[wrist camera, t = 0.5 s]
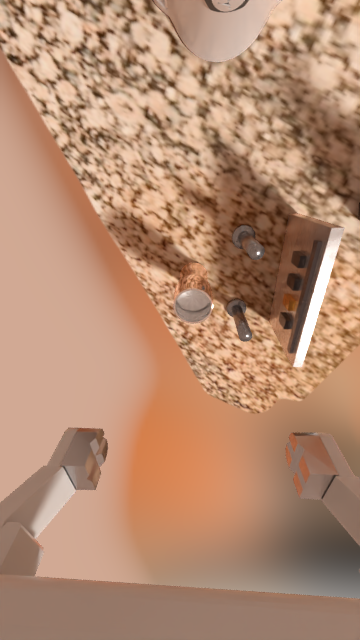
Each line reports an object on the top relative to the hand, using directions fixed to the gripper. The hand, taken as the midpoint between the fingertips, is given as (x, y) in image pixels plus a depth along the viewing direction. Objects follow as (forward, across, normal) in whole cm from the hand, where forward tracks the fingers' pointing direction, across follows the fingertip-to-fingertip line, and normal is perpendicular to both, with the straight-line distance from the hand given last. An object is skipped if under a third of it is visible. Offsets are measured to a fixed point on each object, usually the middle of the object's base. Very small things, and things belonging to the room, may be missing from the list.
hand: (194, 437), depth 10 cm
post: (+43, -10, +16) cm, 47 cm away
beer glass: (+43, 0, +8) cm, 44 cm away
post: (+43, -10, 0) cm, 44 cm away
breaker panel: (+43, -19, +8) cm, 48 cm away
